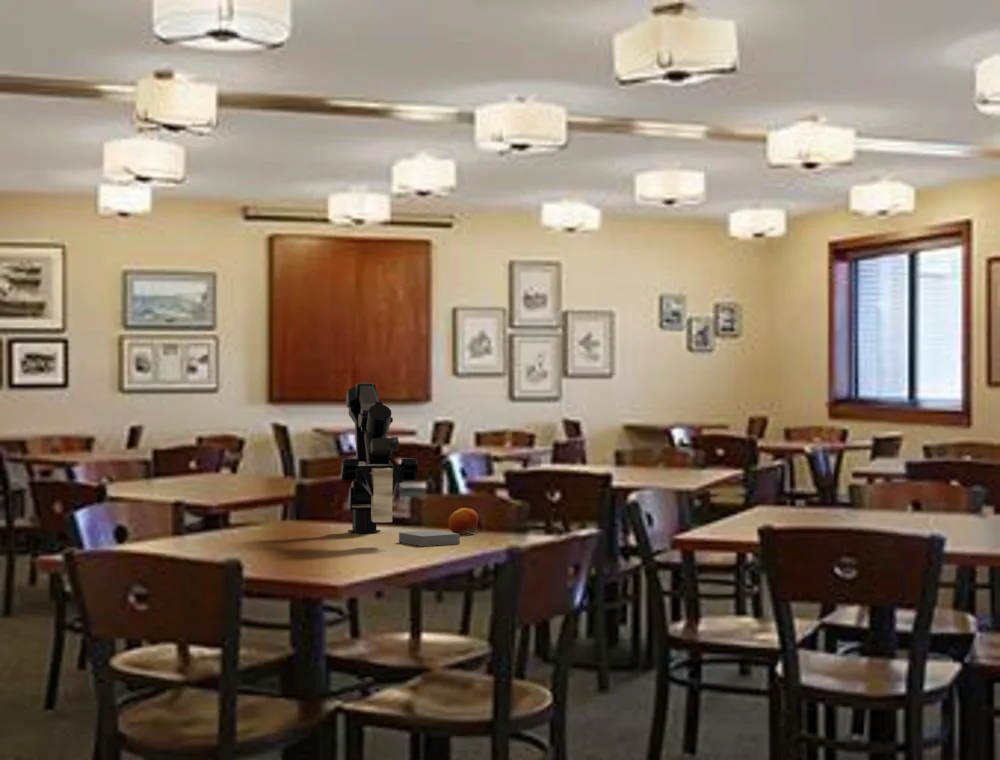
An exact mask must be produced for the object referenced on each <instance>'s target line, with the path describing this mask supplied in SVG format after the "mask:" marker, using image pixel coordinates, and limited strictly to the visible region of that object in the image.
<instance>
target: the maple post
mask: <svg viewBox="0 0 1000 760" xmlns="http://www.w3.org/2000/svg"><path fill="white" fill-rule="evenodd" d="M371 481H372V485H373V496H371V504H370V506H371V521H372V522H377V523H393V496H392V493H393V469H391V468H372V478H371Z"/></svg>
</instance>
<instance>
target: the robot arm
mask: <svg viewBox="0 0 1000 760" xmlns="http://www.w3.org/2000/svg"><path fill="white" fill-rule="evenodd" d="M345 405H346V408H348V416H349V418H351V419H350V420H352V421H353V423H354V435H355V436H354V439H355V458H344V459H343V460H342V462H341V470H340V471H341V472H340V474H341V475H340V476H341V481H343V482H351V483H350V484H351V485H350V487H349V489H348V497H347V509H348V510H350V511H352V529H348V530H347V532H349V533H357V534H358V533H359V534H369V533H370V534H371V533H381V530H380V529H377V527H378V526H377V525H378V524H377V523H378V522H372V521H371V496H373V485H372V481H371V478H372V468H391V469H393V493H392V497H393V496H394V494H395V492H396V488H397V486H398V484H399V483H403V482H405V481H415V480H416V479H417V474H418V469H419V462H418V459H416V458H413V457H412V458H411V457H409V458H408V457H406V458H401V460H400V464H393V463H391V462H392V459H393V454H392V452H398V451H399V448H400V443H399V442H400V440H399V437H398V436H390V437H388V435H387V434H389V431H390V426H391V424H392V423H393V421H394V418H393V417H392V410H391V409H390V408H389V407H388V406H387V405H384V404H383V401H380V399H379V389H377V387H376V384H375V383H373V382H359V383H356V384H355V386H353V387H351V388H350V389H348V390H347V392H346V396H345Z"/></svg>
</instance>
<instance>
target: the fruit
mask: <svg viewBox="0 0 1000 760" xmlns="http://www.w3.org/2000/svg"><path fill="white" fill-rule="evenodd" d="M478 524H479V515H478V513H477V512H476V510H474V509H472V508H467V507H461V508H458V509H457V510H455V511H454V512H453V513H451V515H450V516H449V518H448V528H449V530H450V531H451V533H456V534H460V535H464V534H465V535H468V533H470V534H471V533H476V534H477V535H478V534H479V532H477V529H478Z"/></svg>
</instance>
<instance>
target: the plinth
mask: <svg viewBox="0 0 1000 760" xmlns="http://www.w3.org/2000/svg"><path fill="white" fill-rule="evenodd" d="M460 536H461V534H456V533H453V532H449V531H442V530H420V531H406V532H405V531H402V532H398V543H399V542H402V543H401V544H405V543H408V544H407V545H410V544H413V545H412V546H416V545H419V546H418V547H422V546H424V547H436V545H438V546H449V545H460V544H461V542H460Z"/></svg>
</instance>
